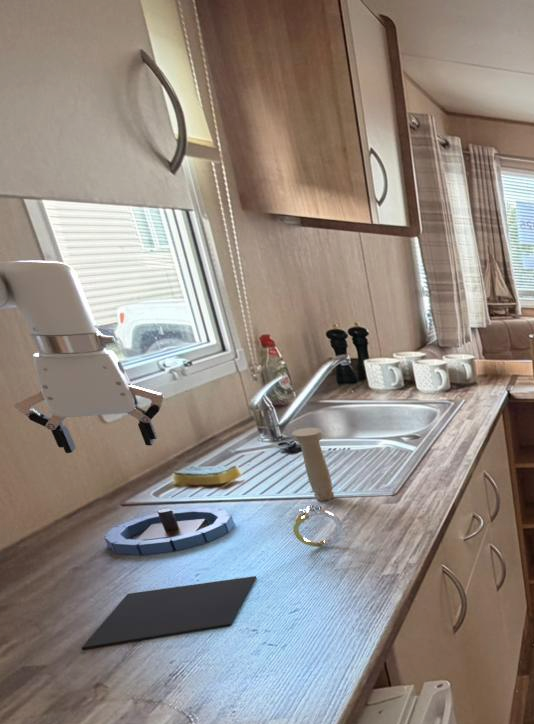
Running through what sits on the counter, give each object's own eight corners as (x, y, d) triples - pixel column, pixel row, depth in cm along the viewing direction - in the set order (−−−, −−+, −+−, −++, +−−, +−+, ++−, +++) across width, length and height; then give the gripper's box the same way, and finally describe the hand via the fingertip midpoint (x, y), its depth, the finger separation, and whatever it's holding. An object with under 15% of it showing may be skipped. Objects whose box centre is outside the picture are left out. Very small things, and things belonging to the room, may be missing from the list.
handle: (310, 505, 135) (291, 436, 129) (312, 495, 140) (293, 429, 133) (338, 502, 137) (320, 434, 131) (339, 492, 142) (321, 426, 136)
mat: (82, 650, 87) (81, 647, 87) (128, 595, 100) (127, 593, 100) (231, 625, 94) (230, 623, 94) (256, 578, 107) (255, 575, 106)
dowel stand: (137, 546, 114) (126, 521, 112) (153, 529, 121) (143, 505, 119) (195, 540, 118) (185, 515, 116) (208, 523, 124) (199, 500, 122)
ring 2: (298, 553, 115) (286, 512, 112) (301, 546, 118) (289, 506, 114) (345, 546, 118) (334, 507, 115) (346, 540, 121) (335, 501, 118)
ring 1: (92, 561, 109) (87, 550, 108) (131, 524, 123) (127, 514, 122) (219, 546, 116) (215, 536, 115) (242, 512, 130) (239, 503, 129)
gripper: (147, 339, 110) (181, 435, 117) (-5, 343, 100) (43, 448, 107) (140, 345, 104) (177, 446, 111) (-20, 350, 94) (31, 460, 101)
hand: (111, 447), depth 109 cm, fingers open, 9 cm apart
